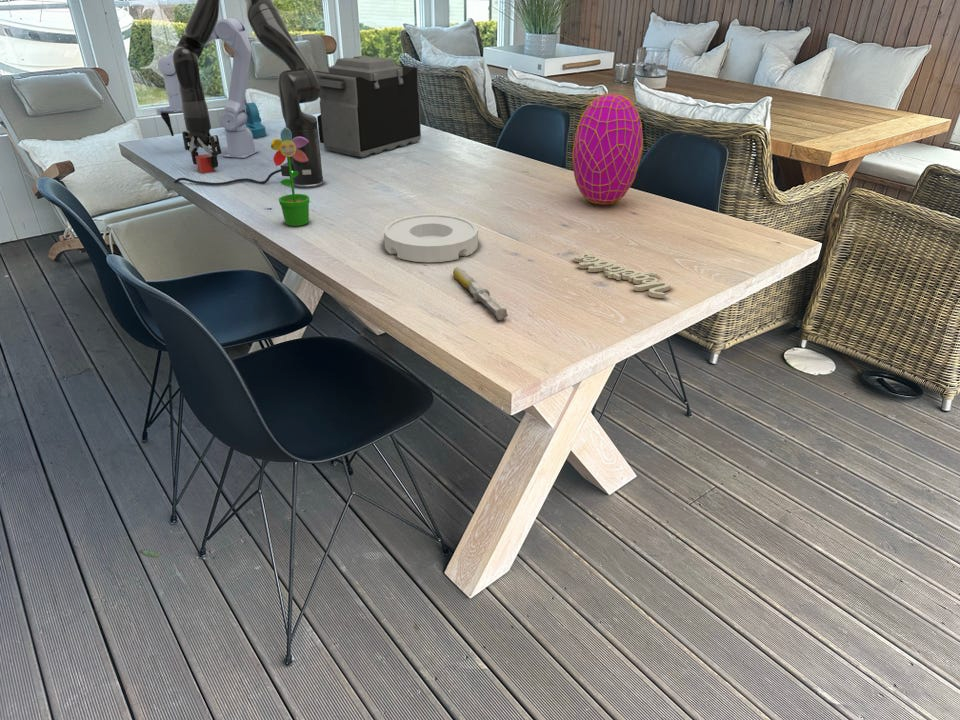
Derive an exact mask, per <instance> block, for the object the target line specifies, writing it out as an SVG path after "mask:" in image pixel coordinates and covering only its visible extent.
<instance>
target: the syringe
mask: <svg viewBox="0 0 960 720" xmlns="http://www.w3.org/2000/svg"><path fill="white" fill-rule="evenodd" d="M452 274H453V277H454V279H455V280H457V281H458V282H459V283H460V285H462V287H464V289H466V290H467V291H468V293H470V295H471V296H472V298H473V300H474V302H477V303H478V302H480V303H482V304H483V305H484V306H485V307H486V308H487V309H488V310H489V311H490V312H491V313H492V314H493V315H494V316H495V317H496V320H497V321H503V320H504V319H506V318H507V317H509V314H508V310H507V308H506V307H502V306H501V305H500V303H498V302H497V301H496V300H494V299H493V298H492V297H491V296H490V295H491V293H490V290H488V289H486V288H483V287H482V286H481V285H480V284H479V283H478V282H477V281H476V280H474V278H473V277H471V275H469V274H468V273H467V272H466V270H465V269H464V268H463V267H462V266H456V267H454V268H453V271H452Z"/></svg>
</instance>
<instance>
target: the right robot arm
mask: <svg viewBox="0 0 960 720" xmlns="http://www.w3.org/2000/svg"><path fill="white" fill-rule="evenodd" d="M244 2H245V10H246V13H245V14H246V18H247V22H248V23H249V26H250V28H251V30H252V32H253V33H254V35H255V37H256V38H257V40H258V42H259V43H260V44H261V45H262V46H263V47H264V48H265V49H267V50H268V51H269V52H270V53H272V54H273V55H275V56H276V57H278V58H279V59H280V60H281V61H282V62H283V63H284V64H285V65H286V66H287V68H289V69H287V70H282V71H281V72H280V73H279V74H278V76H277V91H278V97H279V103H280V107H281V114H282V118H283V120H284V123H285V124H284V125H285V128H288V129H289V130H290V131H291V134H292V139H293V138H295V137H299V136H300V137H304V138H305V139H307V140H308V141H309V143H307V144H306V145H305V146H303V147H301V148H297V149H299V150H301V151H302V152H304V153H305V155H306V156H307V158H308V161H307V162H298V161H296V160H295V159H293V158H292V157H290V160H291V168H292V172H294V171H297V172H299V174H298V175H297V176H296V177H294V178H293V183H294V187H296V188H300V189H301V188H303V189H310V188H317V187H320V186H322V185H324V184H325V182H324V175H323V167H322V157H321V147H320V139H319V130H318V120H317V116H314V115H312V114H309V113H305V112H303V111H302V108H301V105H300V104H307V103H312V102H315V101H317V100H318V99H320V98H319V96H320V86H319V82H318V80H317V77H316V75H315V74H314V72H313V71H314V70H313V69H312V67H311V66H310V64H309V63H308V61H307V60H306V58H305V56H304V55H303V53H302V52H301V50H300V49H299V47H298V46H297V44H296V42H295V41H294V39H293V37H292V35H291V33H290V32H289V28H288V27H287V25H286V23H285V21H284V19H283V17H282V16H281V14H280V12H279V10H278V8H277V7H276V5H275V4H274V1H273V0H244ZM219 12H220V0H197V1H196V3H195V6H194V7H193V10H192V12H191V15H190V17H189V18H188V21H187V23H186V26H185V29H184V32H183V34H182V36H181V37H180V39H179V40H178V43H177V44H178V45H177V44H176V46H175V48H174V49H175V50H174V49H173V50H174V53H173V63H174V67H175V71H176V75H177V78H178V82H179V90H180V95H181V101H182V110H183V113H182V114H183V119H184V120H183V121H184V125H185V129H186V130H185V131H182V132H181V133H182V140H183V146H184V149H185V151H188V152H189V153H190V155H191V156H190V157H191V161H192V163H193V165H195V166H197V163H196V158H195V156H198V155H200V154H199V148H201V149H203V150H204V151H205V152H207V154H208V155H209V156H210V162H211V167H212V168H214V169H216V168H218V167H219V161H218V160H219V159H218V156H219V155H221V154H222V149H221V144H220V139H219V136H218V135H217V134H215V135H212V134H211V133H210V131H211V129H212V125H211V124H212V123H211V119H210V113H209V107H208V105H207V104H208V103H207V102H206V96H205V91H204V86H203V83H202V80H201V75H200V68H199V61H200V57H201V55H202V53H203V51H204V48H205V47H206V46H207V45H206V43H207V42H208V41H209V39H210V37H211V35H212V33H213V30H214V28H215V26H216V24H217V21H218V20H219V15H220V13H219ZM286 161H287V162H284V163H282V164H281V165H280V169H277V170H274V171H273V172H270V173H269V174H268V176H267V177H266V179H265V180H261V181H259V180H256V179H254V178H248V177H247V178H237V179H232V180H228V181H222V182H221V181H220V182H209V181H199V180H195V179H190V178H187V177H178V178H176V179H175V180H174V181H173V183H174V184H178V182H180V181H185V182H189V183H192V184H197V185H205V186H225V185H230V184H233V183H239V182H250V183H251V182H252V183H255V184H259V185H260V184H261V185H263V184H266V183H268V182H269V181H270V179H271V178H272V177H273V176H274V175H276V174H277V173H281V176H282V177H288V178H290V173H289V165H288V158H287V157H286Z"/></svg>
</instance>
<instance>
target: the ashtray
mask: <svg viewBox="0 0 960 720" xmlns="http://www.w3.org/2000/svg"><path fill="white" fill-rule="evenodd" d="M383 238H384V239H383V240H384V249H385V251H386V252H387V253H388V254H390V255H396V256H397V258H398V259H401V260H403V261H410V262H415V263H416V262H417V263H443V262H450V261H455V260H459V257H461V256H464V257H468V256H470V255H472V254H473V253H474V252H475V251H477V249H478V246H479V227H478V225H477V224H475V222H473V221H471V220H469V219H468V218H465V217H461V216H459V215H457V216H456V215H451V214H446V213H445V214H443V213H421V214H420V213H419V214H413V215H407V216H403V217H399V218H397V219H394V220H392V221H391V222H388V223H387V224H386V225H385V226H384V228H383Z"/></svg>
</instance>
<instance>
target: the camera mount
mask: <svg viewBox="0 0 960 720" xmlns="http://www.w3.org/2000/svg"><path fill="white" fill-rule="evenodd" d="M244 103H245V102H244ZM245 105H246V114H247V122H246V123H245V125H246V127H247V128H248V129H250V131H251V132H252V135H253V139H258V138H262V137H266V136H267V132H266V126H265V125H263V124H262V121H261V116H260V111H259V108H258V106H257V104H256V102H246V103H245Z"/></svg>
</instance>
